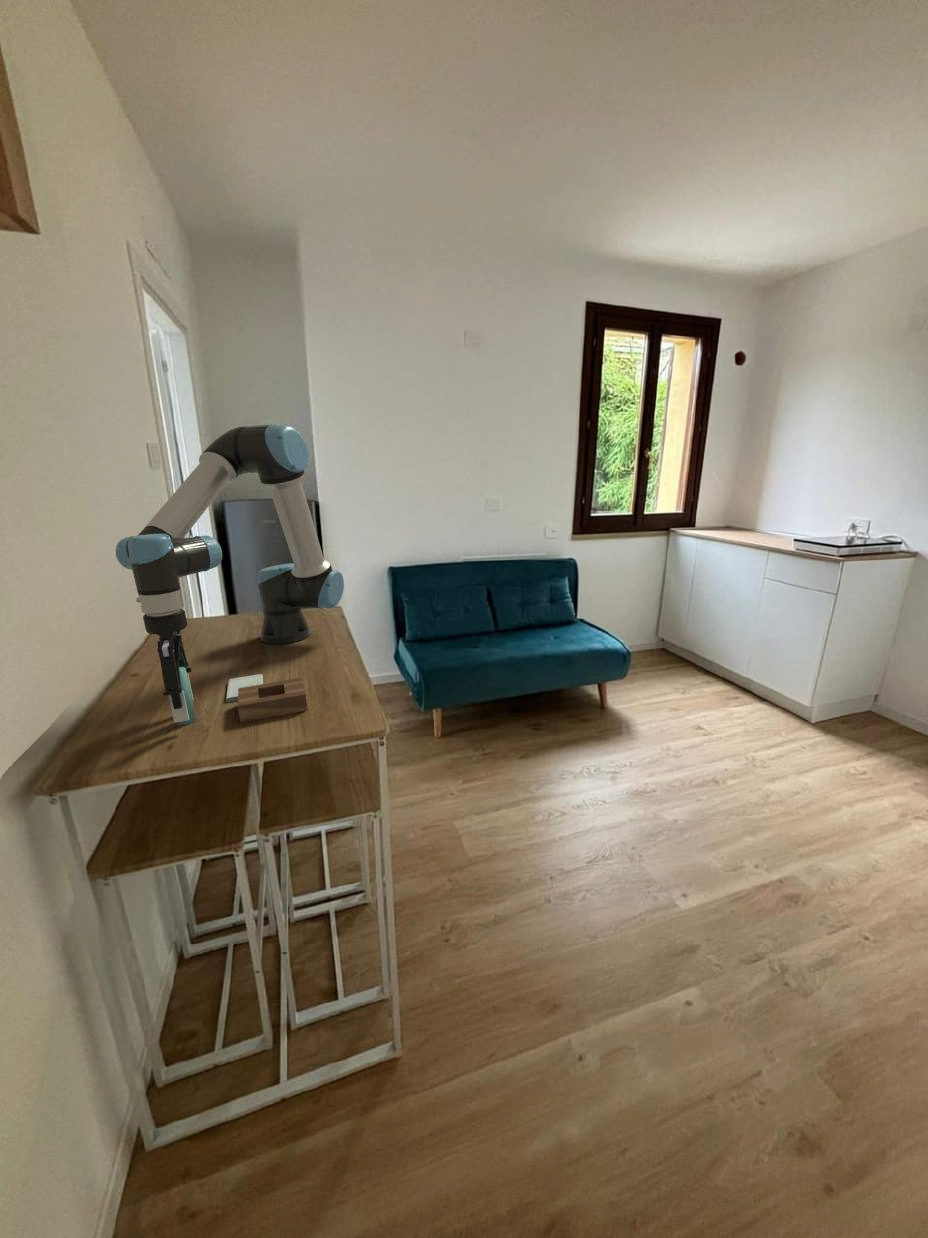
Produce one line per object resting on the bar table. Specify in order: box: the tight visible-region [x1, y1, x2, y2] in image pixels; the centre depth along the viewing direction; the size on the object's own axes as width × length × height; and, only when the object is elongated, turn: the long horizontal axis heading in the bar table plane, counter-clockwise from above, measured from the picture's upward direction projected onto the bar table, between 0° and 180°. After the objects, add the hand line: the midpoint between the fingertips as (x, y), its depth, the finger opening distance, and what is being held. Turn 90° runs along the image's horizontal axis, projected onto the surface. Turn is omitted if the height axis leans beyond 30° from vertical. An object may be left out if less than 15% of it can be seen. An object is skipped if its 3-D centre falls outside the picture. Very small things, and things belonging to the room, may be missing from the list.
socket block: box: [237, 677, 308, 724], centre depth 116 cm, size 10×14×4 cm
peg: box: [171, 667, 197, 726], centre depth 110 cm, size 4×4×12 cm
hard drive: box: [225, 673, 264, 703], centre depth 127 cm, size 2×8×12 cm
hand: (184, 710), depth 111 cm, fingers open, 9 cm apart
